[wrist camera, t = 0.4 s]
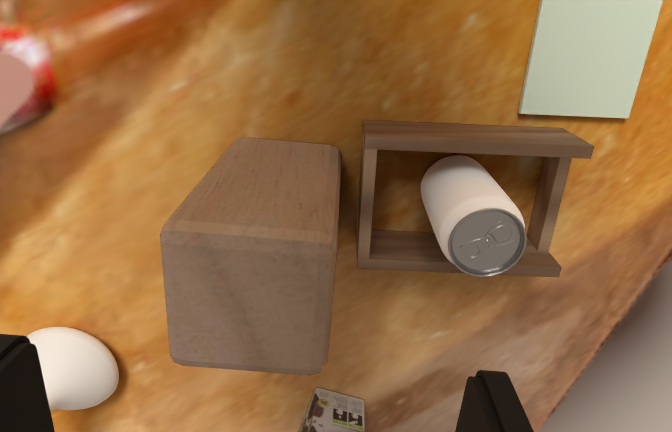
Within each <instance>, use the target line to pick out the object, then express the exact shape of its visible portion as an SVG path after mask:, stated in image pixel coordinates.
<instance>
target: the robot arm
mask: <svg viewBox="0 0 672 432" xmlns="http://www.w3.org/2000/svg"><path fill="white" fill-rule="evenodd" d="M0 432H55V431H54V426H53V422H52V417H51V412H50V408H49V403H48V398H47V394H46V389H45V384H44V380H43V375H42V370H41V365H40V361H39V356H38V351H37V348H36V346H35V345H34V344H32V343H30V340H29V339H28V338H27V337H26V336H19V335H6V334H0ZM455 432H534V431H533V429H532V427H531V425H530V423H529V420H528V418H527V416H526V414H525V411H524V409H523V407H522V405H521V403H520V400H519V398H518V396H517V394H516V391H515V389H514V387H513V385H512V382H511V380H510V378H509V376H508V375H507V373H505V372H498V371H485V370H479V371H478V372H477V373H476V376H475V377H472V376H470V377H468V379H467V383H466V387H465V392H464V396H463V400H462V405H461V409H460V414H459V418H458V422H457V427H456V431H455Z"/></svg>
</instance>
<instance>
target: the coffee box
mask: <svg viewBox="0 0 672 432" xmlns="http://www.w3.org/2000/svg"><path fill="white" fill-rule="evenodd" d="M298 432H365V416H364V400H362V399H359V398H355V397H351V396H347V395H344V394H340V393H336V392H333V391H329V390H325V389H322V388H316V389H315V391H314V393H313V396H312V398H311V400H310V403H309V406H308V408H307V411H306V413H305V416H304V418H303V420H302V423H301V425H300V428H299V430H298Z"/></svg>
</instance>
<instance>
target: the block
mask: <svg viewBox="0 0 672 432" xmlns="http://www.w3.org/2000/svg"><path fill="white" fill-rule="evenodd" d="M340 174H341V154H340V151H339V148H337V147H335V146H333V145H330V144H318V143H305V142H293V141H281V140H268V139H256V138H244V137H243V138H240V139H237V140H235V141H234V142H233V143H232V144H231V146H230V147H229V148H228V149H227V150H226V151H225V153H224V154H223V155H222V156H221V157H220V159H219V160H218V161H217V162H216V163H215V164H214V166H213V167H212V168H211V169H210V170H209V172H208V173H207V174H206V175H205V176H204V178H203V179H202V180H201V181H200V182H199V183H198V185H197V186H196V187H195V188H194V189H193V191H192V192H191V193H190V194H189V195H188V196H187V198H186V199H185V200H184V201H183V202H182V204H181V205H180V206H179V207H178V208H177V209H176V211H175V212H174V213H173V214H172V215H171V217H170V218H169V219H168V220H167V221H166V222H165V224H164V226H163V229H162V231H161V234H160V240H161V252H162V264H163V275H164V287H165V299H166V311H167V322H168V334H169V346H170V356H171V358H172V359H173V361H174V362H175V363H178V364H180V365H182V366H195V367H208V368H221V369H234V370H247V371H260V372H273V373H286V374H299V375H313V374H317V373H320V371H321V369H322V367H323V366H324V364H325V363H326V361H327V358H328V347H329V335H330V324H331V313H332V302H333V290H334V279H335V268H336V256H337V241H338V219H339V196H340Z"/></svg>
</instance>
